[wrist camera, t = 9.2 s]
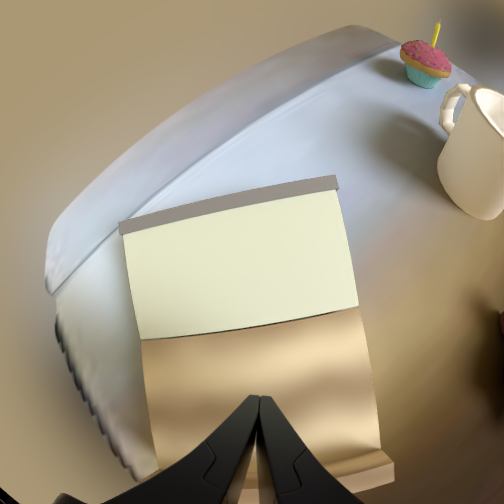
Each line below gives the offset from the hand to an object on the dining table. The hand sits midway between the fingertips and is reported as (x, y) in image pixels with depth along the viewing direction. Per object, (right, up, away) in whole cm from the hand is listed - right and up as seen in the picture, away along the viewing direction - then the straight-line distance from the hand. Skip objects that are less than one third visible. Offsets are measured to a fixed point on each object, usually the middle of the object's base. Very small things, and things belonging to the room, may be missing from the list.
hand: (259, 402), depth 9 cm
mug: (+25, +15, +15) cm, 33 cm away
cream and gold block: (+1, -7, +10) cm, 12 cm away
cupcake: (+26, +32, +22) cm, 47 cm away
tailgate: (-1, 0, +9) cm, 9 cm away
